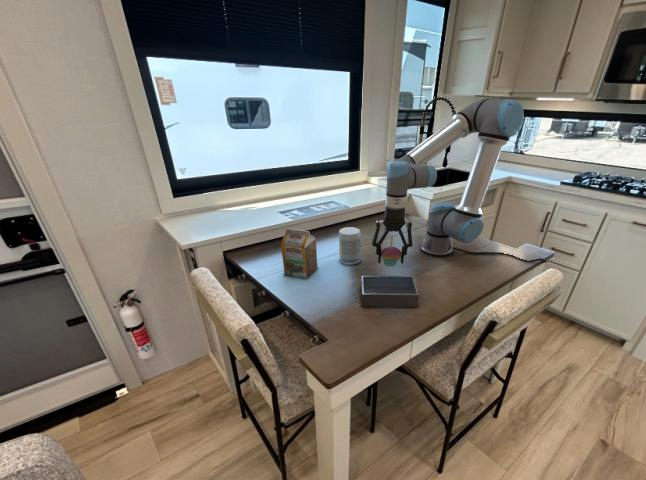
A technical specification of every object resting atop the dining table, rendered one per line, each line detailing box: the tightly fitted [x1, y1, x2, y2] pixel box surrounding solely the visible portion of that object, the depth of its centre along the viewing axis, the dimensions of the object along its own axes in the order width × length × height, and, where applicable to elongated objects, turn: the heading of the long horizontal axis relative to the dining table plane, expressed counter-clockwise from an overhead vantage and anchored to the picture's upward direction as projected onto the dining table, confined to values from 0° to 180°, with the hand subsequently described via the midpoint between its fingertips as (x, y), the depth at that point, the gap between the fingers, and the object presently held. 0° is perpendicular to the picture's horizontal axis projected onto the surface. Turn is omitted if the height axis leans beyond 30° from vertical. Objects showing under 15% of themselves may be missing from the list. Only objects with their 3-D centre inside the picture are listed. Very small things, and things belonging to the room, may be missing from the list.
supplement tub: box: [338, 226, 361, 266], centre depth 145 cm, size 10×10×15 cm
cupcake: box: [381, 235, 402, 267], centre depth 128 cm, size 9×8×12 cm
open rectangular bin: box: [360, 275, 420, 308], centre depth 121 cm, size 20×14×5 cm
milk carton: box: [280, 228, 318, 280], centre depth 134 cm, size 11×11×19 cm
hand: (390, 261), depth 131 cm, fingers closed on cupcake, 8 cm apart
